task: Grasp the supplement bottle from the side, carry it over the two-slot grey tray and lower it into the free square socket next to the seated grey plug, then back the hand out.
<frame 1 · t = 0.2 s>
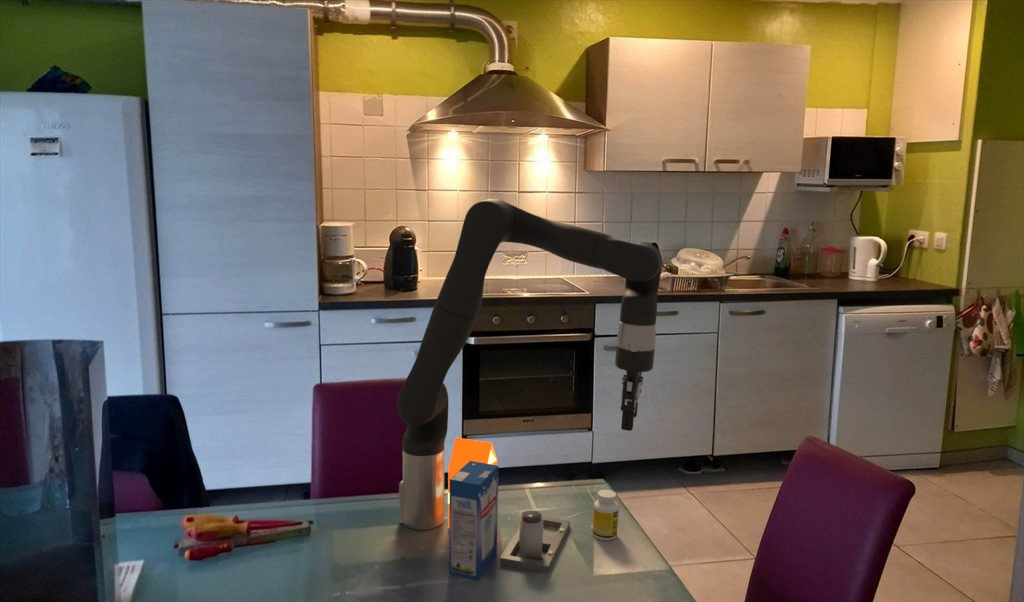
hand: (629, 423, 151), 29 cm above the table, tool pointing down, fingers open, 8 cm apart
two-slot grey tray: (536, 544, 159), on the table
supplement bottle: (604, 535, 164), on the table
orange juice: (472, 525, 168), on the table
milk carton: (473, 566, 151), on the table
seated grey plug: (530, 556, 155), resting in two-slot grey tray
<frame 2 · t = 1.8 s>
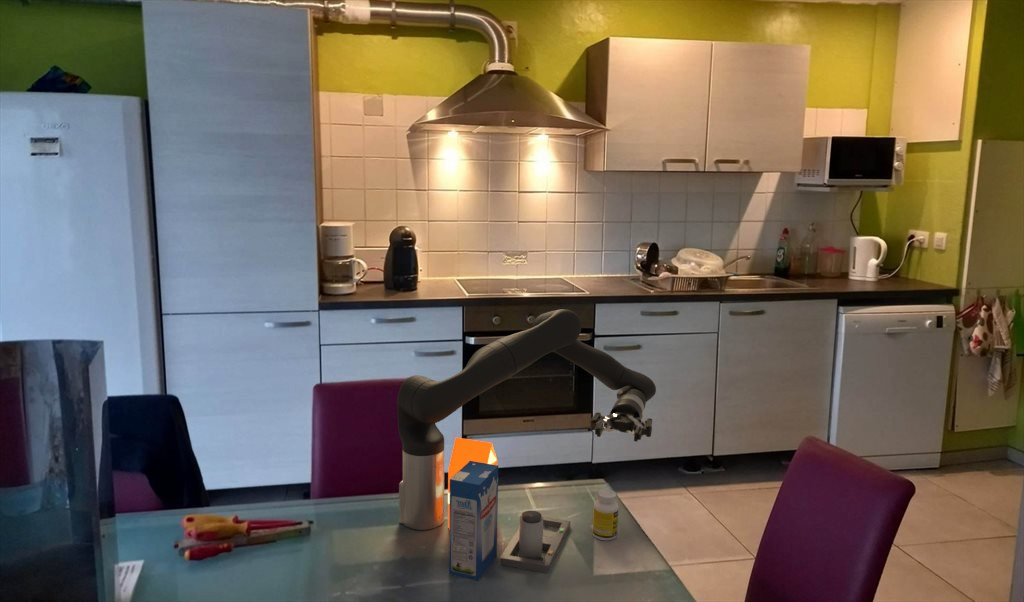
hand: (617, 435, 171), 19 cm above the table, tool horizontal, fingers open, 8 cm apart
nothing on the table moved.
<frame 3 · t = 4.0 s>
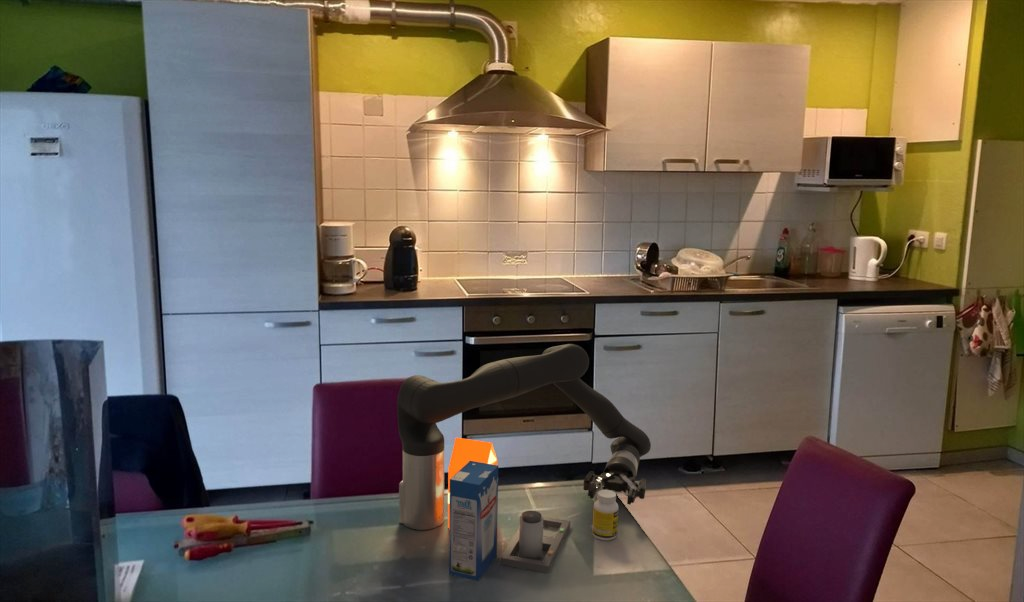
hand: (610, 497, 169), 6 cm above the table, tool horizontal, fingers open, 8 cm apart
nothing on the table moved.
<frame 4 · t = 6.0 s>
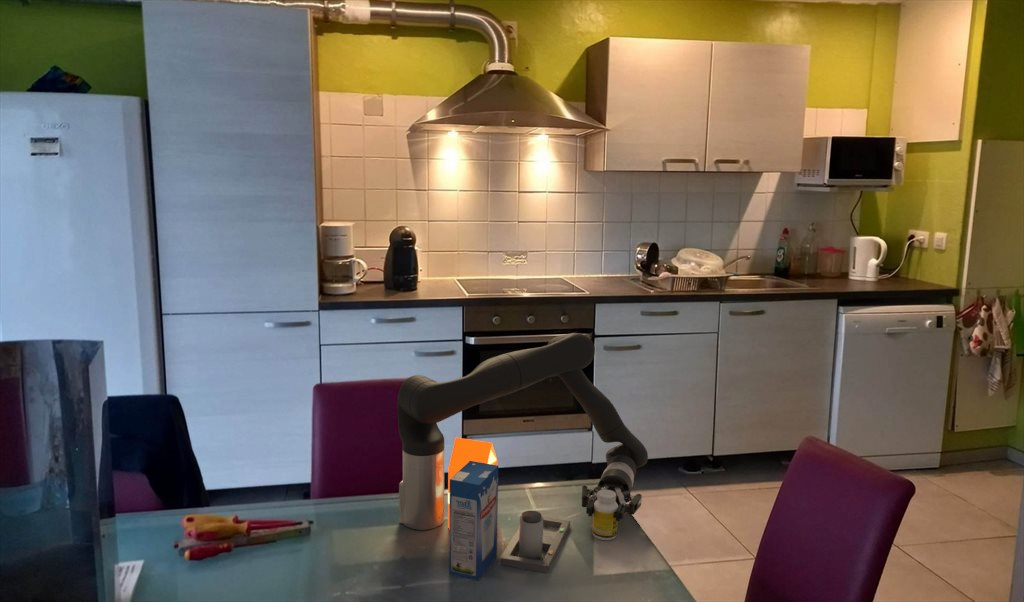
hand: (604, 514, 161), 6 cm above the table, tool horizontal, fingers closed on supplement bottle, 5 cm apart
supplement bottle: (604, 535, 164), on the table, touching gripper
everything else where it was.
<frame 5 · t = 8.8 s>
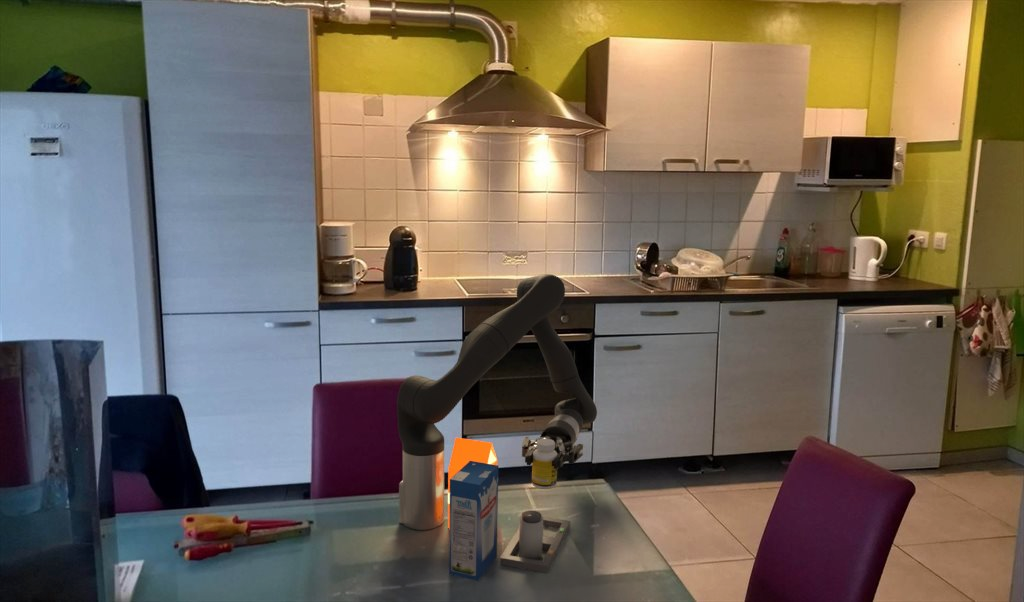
hand: (542, 462, 158), 18 cm above the table, tool horizontal, fingers closed on supplement bottle, 5 cm apart
supplement bottle: (544, 485, 162), point 11 cm above the table, touching gripper
everything else where it was.
when the fingers open (7 cm above the table, at t = 11.6 s): supplement bottle drops 1 cm, resting in two-slot grey tray.
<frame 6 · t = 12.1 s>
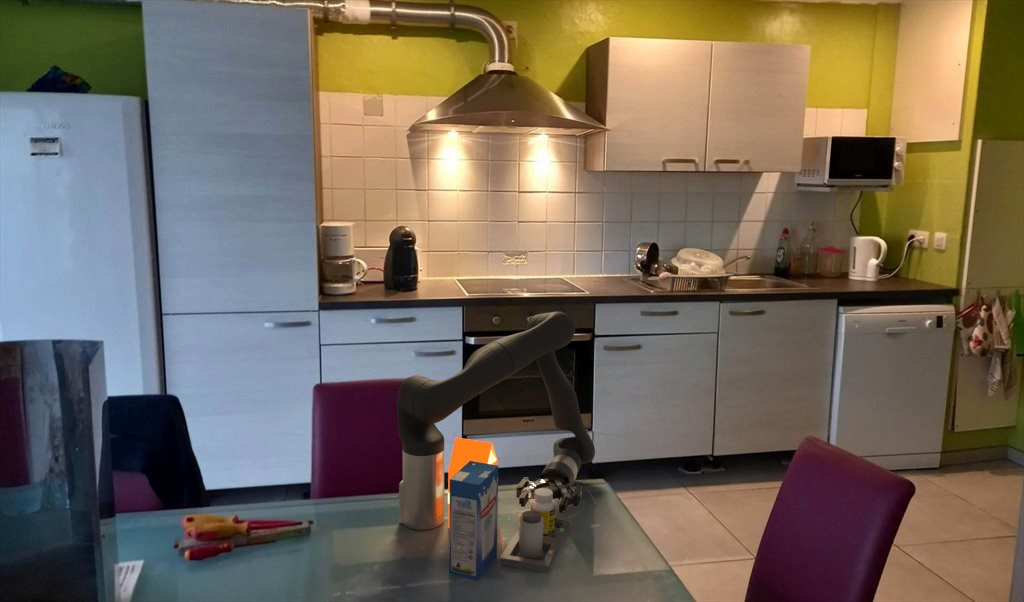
hand: (541, 505, 161), 8 cm above the table, tool horizontal, fingers open, 8 cm apart
supplement bottle: (542, 534, 164), resting in two-slot grey tray
everything else where it was.
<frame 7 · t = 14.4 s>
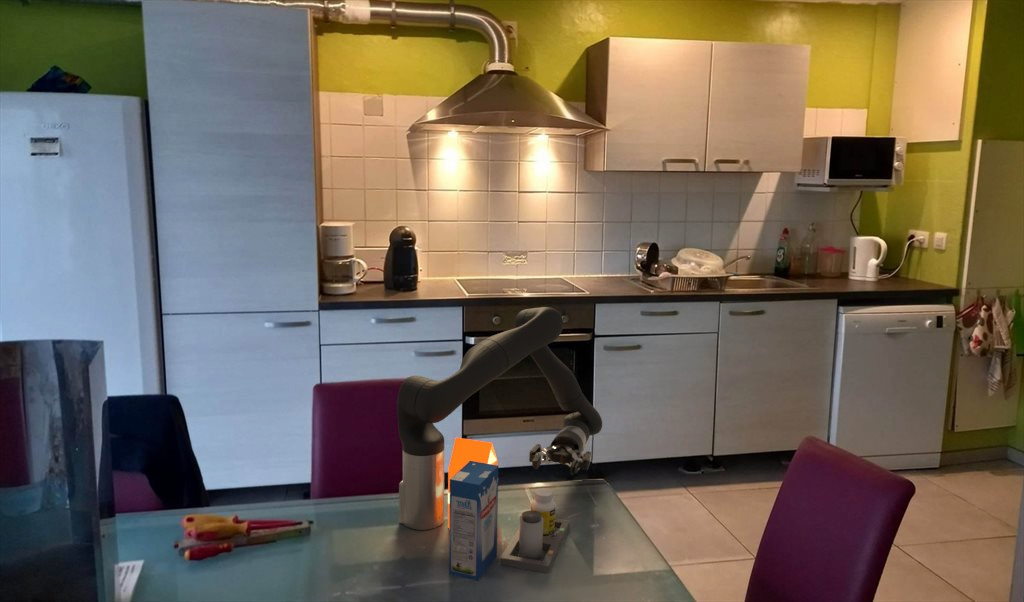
hand: (553, 468, 172), 11 cm above the table, tool horizontal, fingers open, 8 cm apart
nothing on the table moved.
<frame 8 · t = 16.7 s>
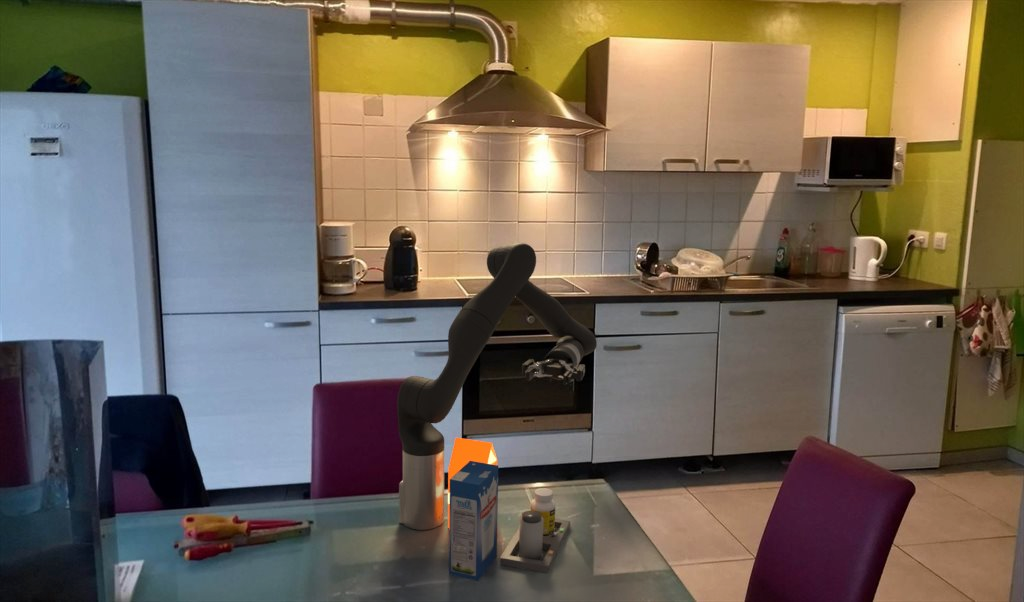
hand: (546, 378, 169), 32 cm above the table, tool horizontal, fingers open, 8 cm apart
nothing on the table moved.
at the end: supplement bottle 0.3 cm from the target spot on the two-slot grey tray, point 0.0 cm above the two-slot grey tray's base; supplement bottle tilted 0°; the gripper is holding nothing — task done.
